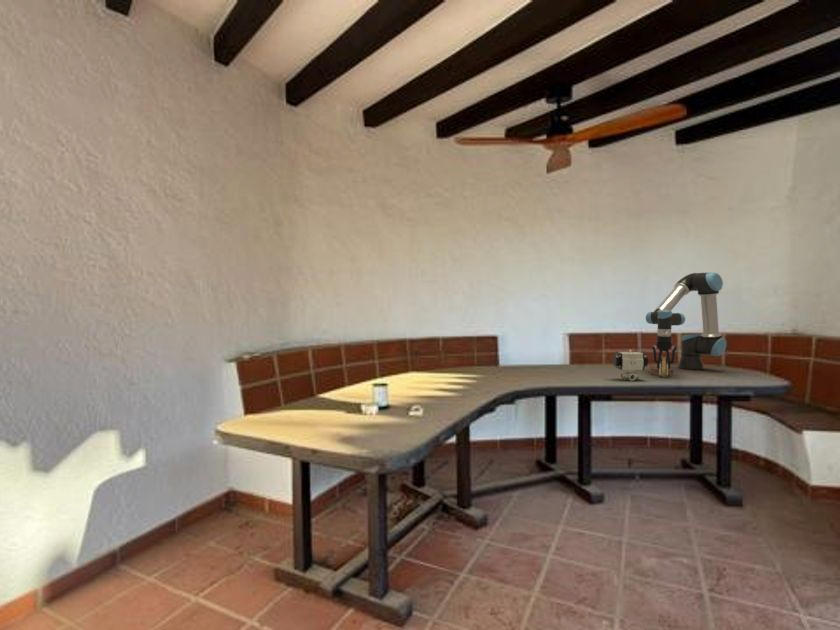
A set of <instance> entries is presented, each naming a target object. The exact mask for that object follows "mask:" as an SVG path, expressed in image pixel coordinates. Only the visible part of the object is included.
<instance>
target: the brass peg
mask: <svg viewBox="0 0 840 630" xmlns="http://www.w3.org/2000/svg"><path fill="white" fill-rule="evenodd" d="M660 363H661V375H660V378H664V379H665V378H667V376H666V368H667V364H668V362H667V356H661V359H660Z"/></svg>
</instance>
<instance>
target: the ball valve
mask: <svg viewBox="0 0 840 630" xmlns="http://www.w3.org/2000/svg"><path fill="white" fill-rule="evenodd" d="M612 364H613V366H614V367H615V368H616V369H618V370H620V371H621V370H623V372H621V373H620V378H621V379H622V380H625V381H631V382H632V381H636V380H639V379H640V373H638V372H636V371H645V368H647V366H648V364H649V359H648V356H647V355H646V354H645V353H643V352H640V351H633V350H632V349H629V350H628V351H616V353H615V354H614V355H613V356H612Z"/></svg>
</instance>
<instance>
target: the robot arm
mask: <svg viewBox="0 0 840 630" xmlns="http://www.w3.org/2000/svg"><path fill="white" fill-rule="evenodd" d="M723 285H724V282H723V279H722V276H721V275H720V274H719V273H718V272H711V271H710V272H708V271H707V272H693V273H690V274H689V273H688V274H686V275H685V276H684V277H682V278H681V279H680V280H678V281H677V282H676V283H675V285H674V288H673V289H672V290H671V291H670V292H669V294H668V295H667V296H666V297H665V298H663V299H664V300H662V302H660V304H659V305H658V306H657V307H656V308H655V310H654V311H650V312H649V311H648V312H647V313H646V315H645V321H646V323H647V324H650V325H657V330H656V331H657V341H656V345H655V344H654V345H652V346H651V348H652V351H653V352H652V353H653V361H654V363H656V365H657V368H658V369H659V375H661V357H662V353H663V352H665V354H666V357H667V368H666V375H668V369H670V367H671V364H674V362H675V354H676V350H677V347H676V346H675V345H673V344H672V326H682V325H683V324H685V322H686V316H685V315H684V314H683V313H680V312H672V311H673V309H674V308H675V307H676V306H677V304H679V302H680V301H681V300H682V299H683V298H684V297H685V296H686V295H688V294H689V293H690V292H694V291H695V292H697V295H698V296H700V304H701V305H700V306H701V321H702V333H701V334H700V333H699V334H696V333H695V334H684V335H682V337H681V341H680V342H681V349H680V350H681V353H680V354H681V355H680V359H679V361H678V364H677V368H678V367H680V368H679V369H682V368H685V369H684V370H689V369H696V370H695V371H700V370H699V369H703V370H704V369H705V367H704V363H703V360H702V355H706V356H712V357H713V356H722V355H723V354H724V353H725V351H726V350H727V343H728V342H727V340H726V339H725V338H724V337H723V334H722V333H721V332H720V331H719V330H720V329H719V318H718V317H719V316H718V314H719V313H718V302H717V301H718V299H717V296H718V294H720V291H721V290H722V288H723ZM656 349H658V355H657V351H656ZM670 350H671V358H670V352H669V351H670ZM659 375H658V376H659Z"/></svg>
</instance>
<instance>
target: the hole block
mask: <svg viewBox="0 0 840 630" xmlns="http://www.w3.org/2000/svg"><path fill="white" fill-rule="evenodd" d="M648 370H649V373H650V375H651V376H660V375H659V369H658V368H657V364H656V365H655V364H649V369H648ZM666 377H674V369H673V368H672V367H671V366H670V369H668V375H666Z"/></svg>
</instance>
